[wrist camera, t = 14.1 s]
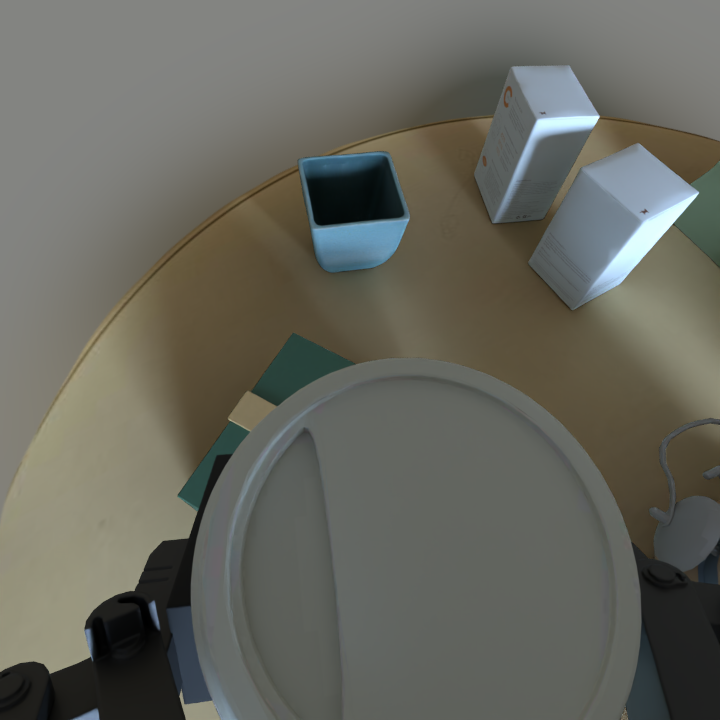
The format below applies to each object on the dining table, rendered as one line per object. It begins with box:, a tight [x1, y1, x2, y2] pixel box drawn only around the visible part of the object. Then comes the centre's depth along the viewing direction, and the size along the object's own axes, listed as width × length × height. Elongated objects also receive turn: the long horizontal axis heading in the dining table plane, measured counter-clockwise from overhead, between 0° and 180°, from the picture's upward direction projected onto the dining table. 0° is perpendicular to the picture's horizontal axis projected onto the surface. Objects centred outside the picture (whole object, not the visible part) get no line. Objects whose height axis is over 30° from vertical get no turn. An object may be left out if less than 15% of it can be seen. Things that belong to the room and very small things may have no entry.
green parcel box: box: [178, 333, 356, 511], centre depth 36 cm, size 14×14×8 cm
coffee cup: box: [191, 358, 642, 720], centre depth 13 cm, size 9×8×12 cm
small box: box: [474, 65, 600, 223], centre depth 50 cm, size 8×6×13 cm
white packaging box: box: [528, 143, 699, 310], centre depth 46 cm, size 7×7×13 cm
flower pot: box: [298, 151, 410, 273], centre depth 47 cm, size 9×9×9 cm
